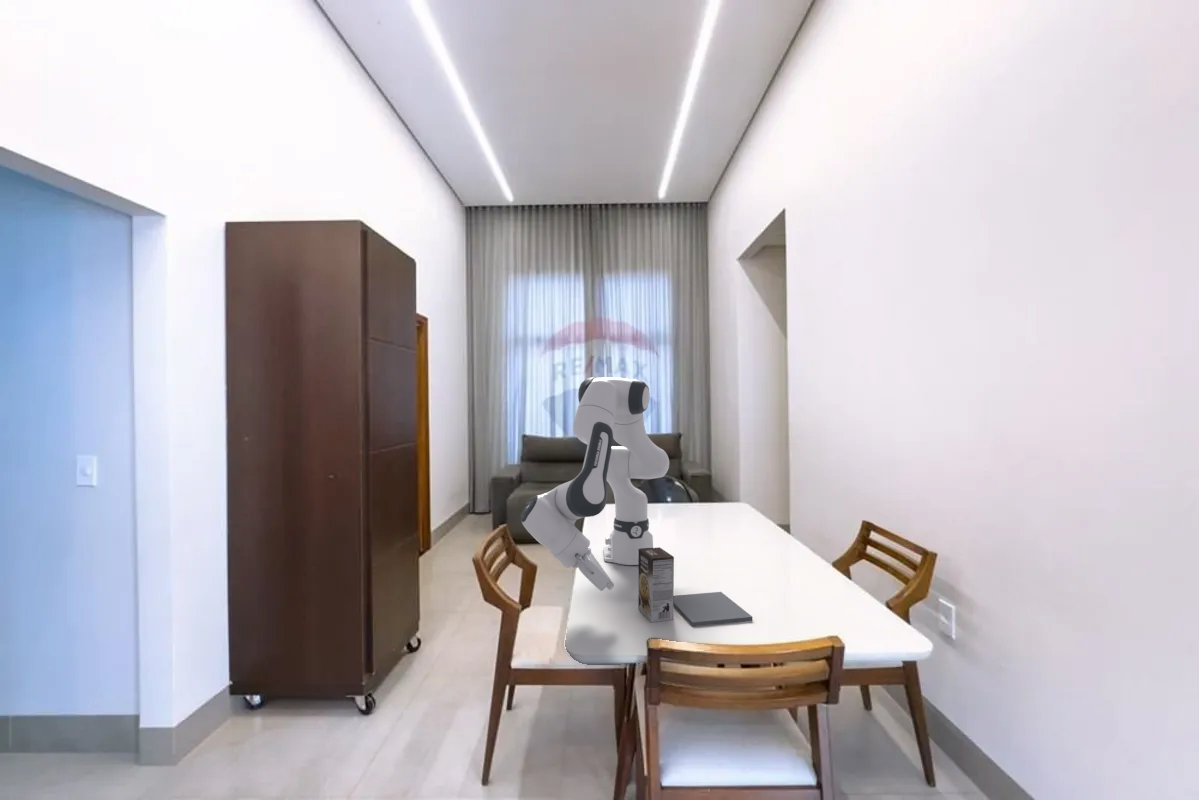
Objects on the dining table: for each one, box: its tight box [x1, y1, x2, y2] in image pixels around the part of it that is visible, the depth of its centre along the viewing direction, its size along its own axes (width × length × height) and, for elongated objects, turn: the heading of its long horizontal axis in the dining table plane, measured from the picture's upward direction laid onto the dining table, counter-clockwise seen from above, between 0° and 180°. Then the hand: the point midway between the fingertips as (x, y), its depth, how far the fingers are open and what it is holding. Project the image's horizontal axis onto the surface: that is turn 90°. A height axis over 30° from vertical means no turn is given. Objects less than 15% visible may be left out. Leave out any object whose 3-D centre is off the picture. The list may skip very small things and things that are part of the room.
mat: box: [673, 591, 753, 627], centre depth 143 cm, size 18×16×1 cm
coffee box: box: [637, 547, 675, 623], centre depth 140 cm, size 9×6×16 cm
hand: (610, 585), depth 137 cm, fingers closed
